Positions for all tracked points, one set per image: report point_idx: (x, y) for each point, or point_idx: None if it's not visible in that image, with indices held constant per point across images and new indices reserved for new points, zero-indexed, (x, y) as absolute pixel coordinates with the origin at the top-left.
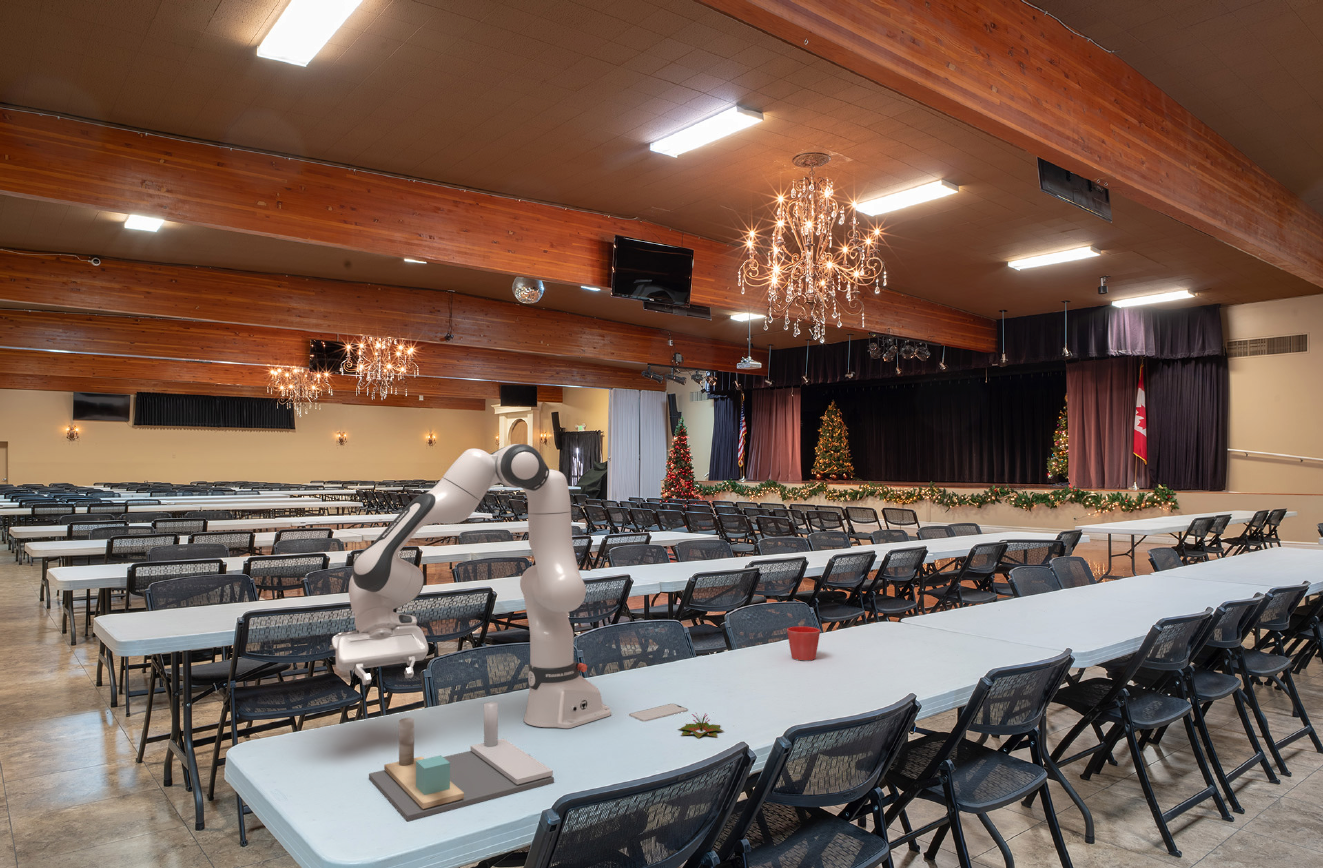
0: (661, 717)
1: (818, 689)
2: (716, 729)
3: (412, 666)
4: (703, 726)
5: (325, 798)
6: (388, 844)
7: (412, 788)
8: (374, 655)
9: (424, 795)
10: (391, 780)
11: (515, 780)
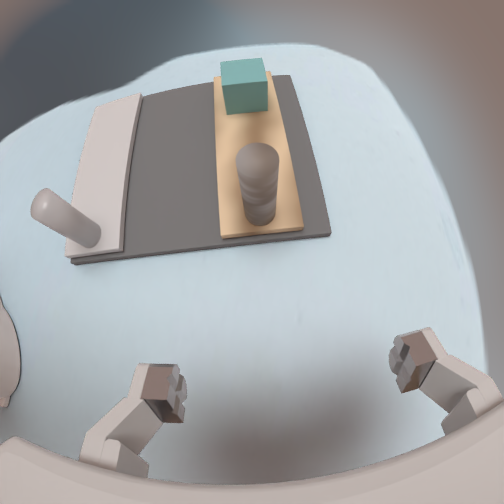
0: None
1: None
2: None
3: (124, 398)
4: None
5: (394, 187)
6: (313, 56)
7: (273, 108)
8: (426, 474)
9: None
10: (295, 178)
11: (141, 97)
